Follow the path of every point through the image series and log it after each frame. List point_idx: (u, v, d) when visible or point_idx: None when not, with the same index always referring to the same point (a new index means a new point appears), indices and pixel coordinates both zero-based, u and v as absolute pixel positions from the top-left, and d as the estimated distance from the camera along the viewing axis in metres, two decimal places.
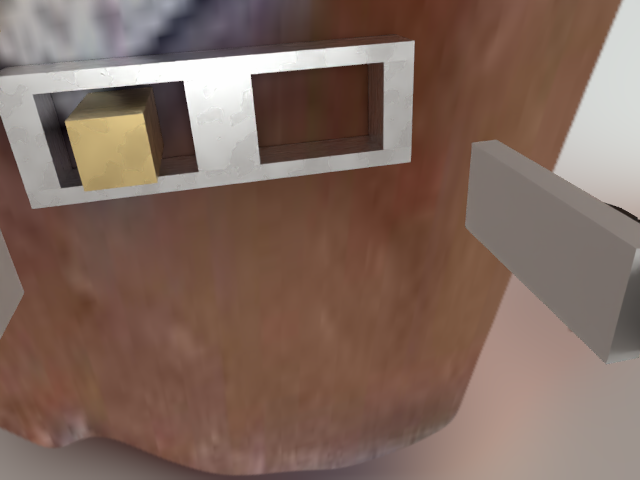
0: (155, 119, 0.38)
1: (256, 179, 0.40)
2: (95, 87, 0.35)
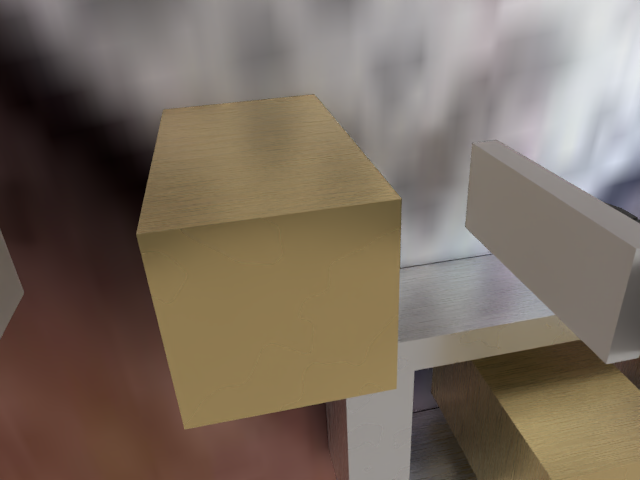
0: None
1: None
2: (527, 348, 0.17)
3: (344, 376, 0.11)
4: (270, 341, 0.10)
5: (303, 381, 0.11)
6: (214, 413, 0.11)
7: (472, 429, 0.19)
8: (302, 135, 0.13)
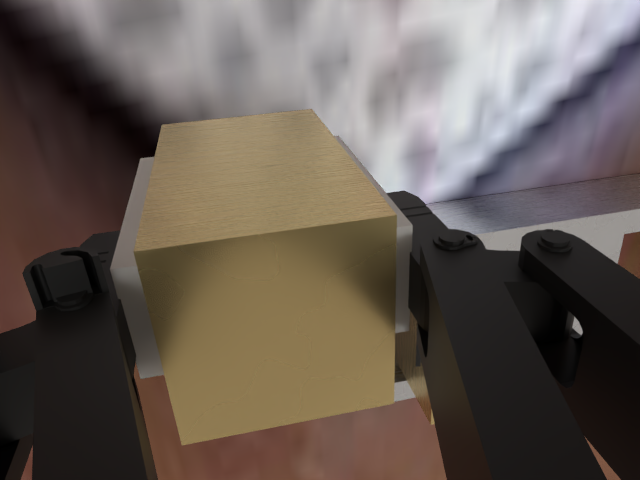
0: None
1: None
2: None
3: (341, 391, 0.11)
4: (267, 357, 0.10)
5: (300, 396, 0.11)
6: (212, 429, 0.11)
7: (396, 333, 0.26)
8: (299, 150, 0.13)
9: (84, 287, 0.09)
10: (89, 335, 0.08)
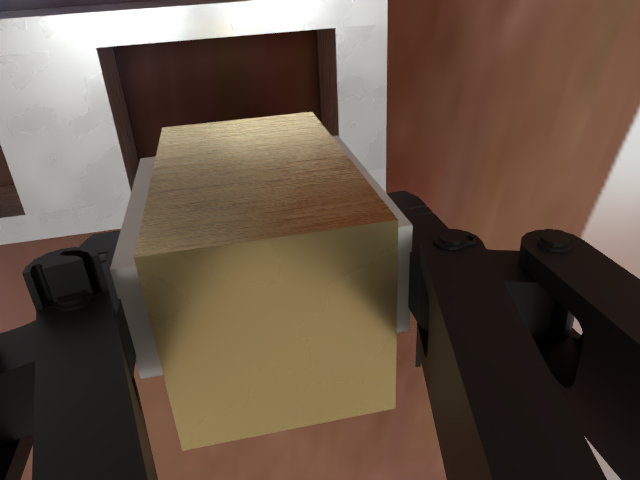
0: None
1: None
2: None
3: (342, 396, 0.11)
4: (268, 362, 0.10)
5: (301, 402, 0.11)
6: (212, 435, 0.11)
7: None
8: (300, 154, 0.13)
9: (84, 287, 0.09)
10: (89, 335, 0.08)
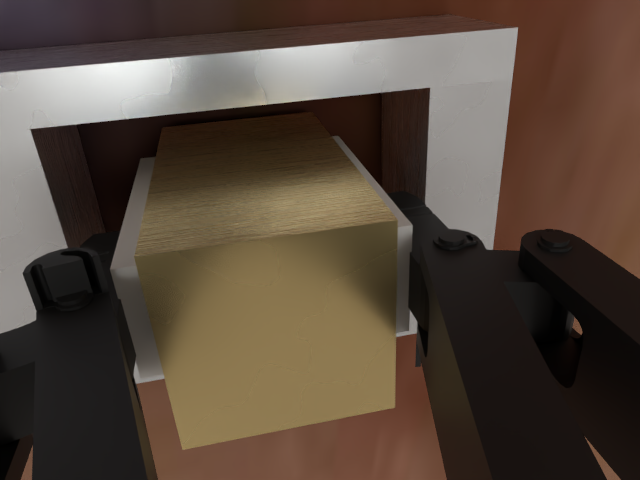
0: None
1: None
2: None
3: (342, 395, 0.11)
4: (268, 361, 0.10)
5: (301, 401, 0.11)
6: (212, 434, 0.11)
7: None
8: (300, 154, 0.13)
9: (84, 287, 0.09)
10: (89, 335, 0.08)
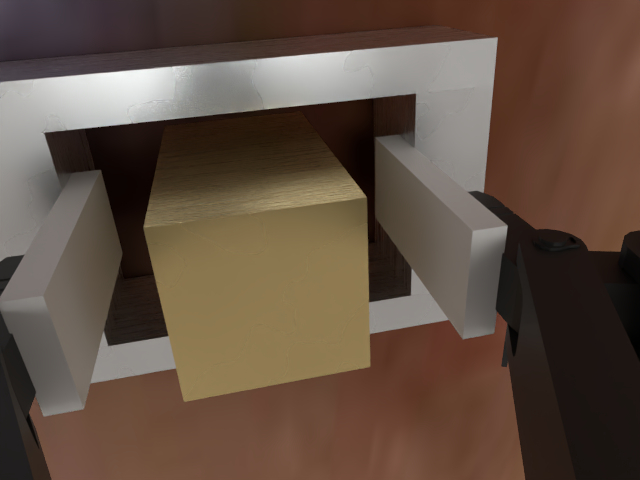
0: None
1: (102, 378, 0.16)
2: None
3: (323, 354, 0.13)
4: (258, 322, 0.12)
5: (287, 359, 0.12)
6: (210, 388, 0.12)
7: None
8: (288, 147, 0.14)
9: None
10: None
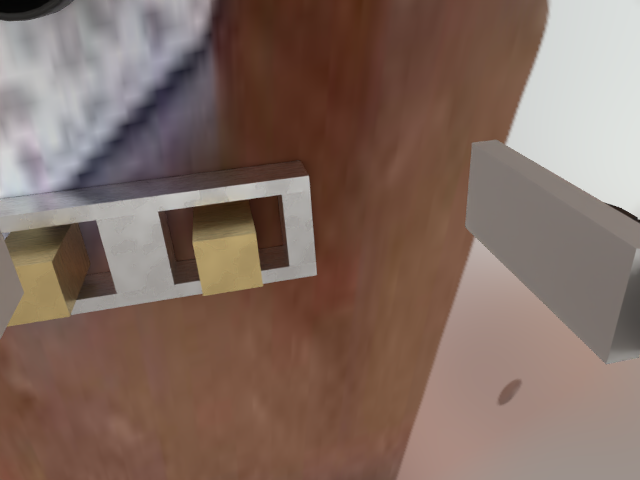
0: (77, 247, 0.42)
1: (171, 297, 0.43)
2: (15, 230, 0.39)
3: (247, 281, 0.40)
4: (225, 270, 0.39)
5: (235, 282, 0.40)
6: (211, 291, 0.40)
7: None
8: (237, 213, 0.42)
9: None
10: None
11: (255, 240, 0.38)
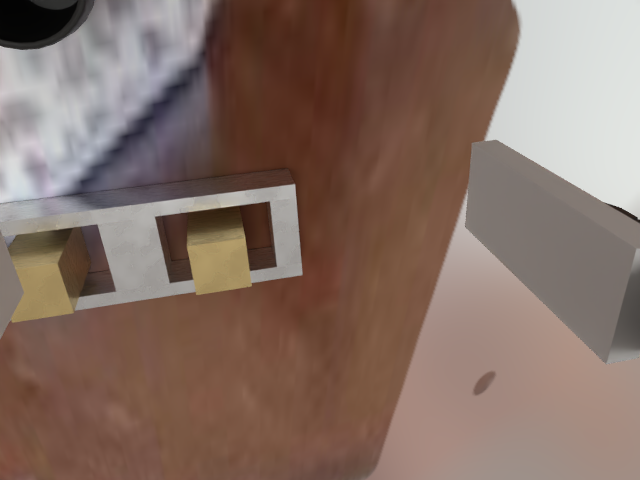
0: (79, 248, 0.45)
1: (167, 294, 0.47)
2: (22, 233, 0.42)
3: (237, 282, 0.43)
4: (217, 271, 0.42)
5: (226, 283, 0.43)
6: (204, 291, 0.43)
7: None
8: (229, 218, 0.45)
9: None
10: None
11: (244, 244, 0.42)
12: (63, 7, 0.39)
